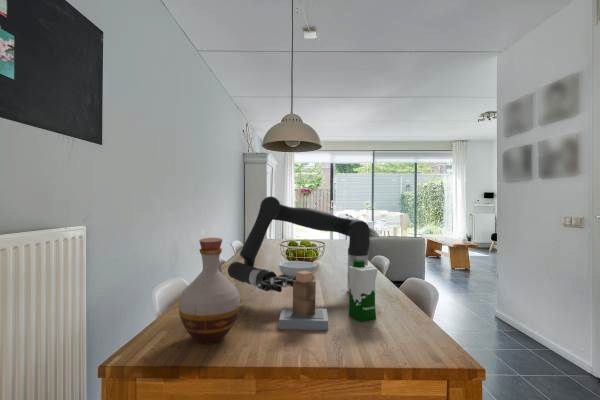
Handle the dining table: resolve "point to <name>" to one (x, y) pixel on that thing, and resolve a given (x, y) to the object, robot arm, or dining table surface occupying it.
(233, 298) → the jug
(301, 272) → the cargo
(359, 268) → the milk carton
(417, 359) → the dining table surface
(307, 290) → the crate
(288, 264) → the serving bowl
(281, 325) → the dock
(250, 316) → the dining table surface
